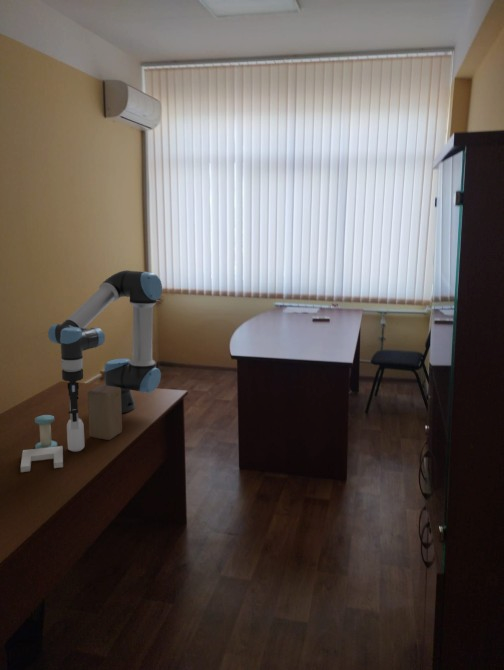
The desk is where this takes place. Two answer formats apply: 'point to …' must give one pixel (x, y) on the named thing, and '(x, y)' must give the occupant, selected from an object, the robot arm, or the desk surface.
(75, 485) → the desk surface
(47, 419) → the bobbin
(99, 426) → the wooden block
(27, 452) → the u-shaped block
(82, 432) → the beverage can
